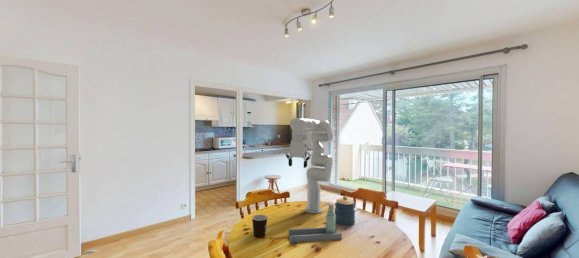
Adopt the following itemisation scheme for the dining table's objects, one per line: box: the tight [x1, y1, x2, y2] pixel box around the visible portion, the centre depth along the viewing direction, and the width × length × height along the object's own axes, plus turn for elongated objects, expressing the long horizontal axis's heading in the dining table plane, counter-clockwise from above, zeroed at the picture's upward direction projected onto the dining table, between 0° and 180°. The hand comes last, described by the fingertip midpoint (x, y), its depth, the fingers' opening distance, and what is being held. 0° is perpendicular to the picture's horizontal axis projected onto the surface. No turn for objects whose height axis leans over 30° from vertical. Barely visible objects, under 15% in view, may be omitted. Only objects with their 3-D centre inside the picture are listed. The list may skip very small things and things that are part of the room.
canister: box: [334, 195, 356, 227], centre depth 153 cm, size 13×13×18 cm
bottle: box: [325, 202, 336, 234], centre depth 132 cm, size 5×5×18 cm
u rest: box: [288, 226, 343, 245], centre depth 131 cm, size 9×28×4 cm, turn 100°
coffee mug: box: [251, 214, 268, 239], centre depth 135 cm, size 12×9×10 cm
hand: (297, 166), depth 144 cm, fingers open, 9 cm apart
